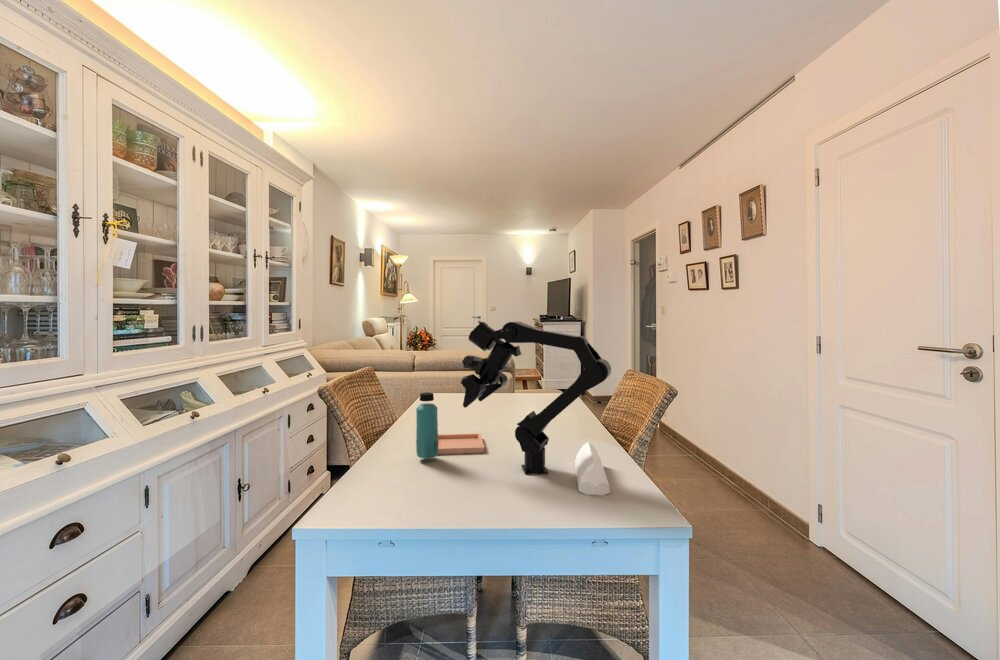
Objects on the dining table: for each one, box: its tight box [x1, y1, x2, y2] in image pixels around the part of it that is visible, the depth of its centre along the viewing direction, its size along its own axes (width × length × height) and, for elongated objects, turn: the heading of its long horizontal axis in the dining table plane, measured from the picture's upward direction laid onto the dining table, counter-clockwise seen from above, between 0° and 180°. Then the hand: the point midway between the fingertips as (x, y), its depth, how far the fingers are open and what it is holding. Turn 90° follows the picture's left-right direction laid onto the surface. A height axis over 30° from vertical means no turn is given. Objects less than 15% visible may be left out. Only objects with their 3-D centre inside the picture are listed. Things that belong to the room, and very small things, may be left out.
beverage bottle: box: [415, 391, 439, 459], centre depth 130 cm, size 6×7×20 cm
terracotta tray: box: [438, 432, 485, 455], centre depth 144 cm, size 16×16×2 cm
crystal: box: [574, 441, 611, 497], centre depth 116 cm, size 7×7×24 cm
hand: (472, 403), depth 130 cm, fingers open, 9 cm apart
